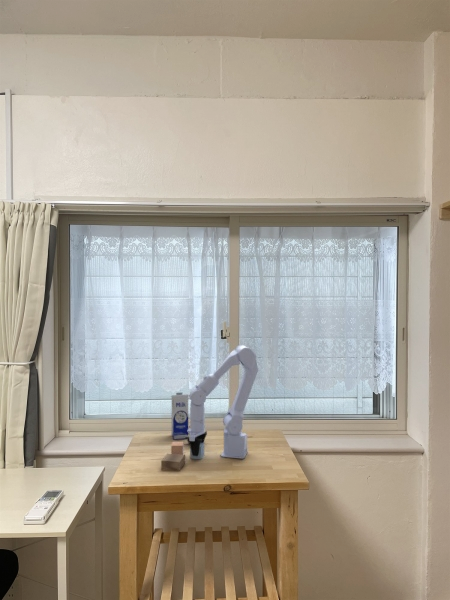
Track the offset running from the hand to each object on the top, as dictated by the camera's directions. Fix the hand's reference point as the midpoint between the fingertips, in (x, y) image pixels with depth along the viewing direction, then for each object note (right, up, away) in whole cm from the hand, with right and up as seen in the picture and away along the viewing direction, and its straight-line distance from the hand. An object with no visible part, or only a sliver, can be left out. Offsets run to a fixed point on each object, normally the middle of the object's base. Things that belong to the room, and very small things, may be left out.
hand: (197, 453), depth 171 cm
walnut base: (-8, -2, -9) cm, 13 cm away
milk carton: (-9, -1, +24) cm, 26 cm away
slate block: (0, -1, 0) cm, 1 cm away
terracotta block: (-8, -2, +1) cm, 8 cm away
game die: (-1, -1, +15) cm, 15 cm away
